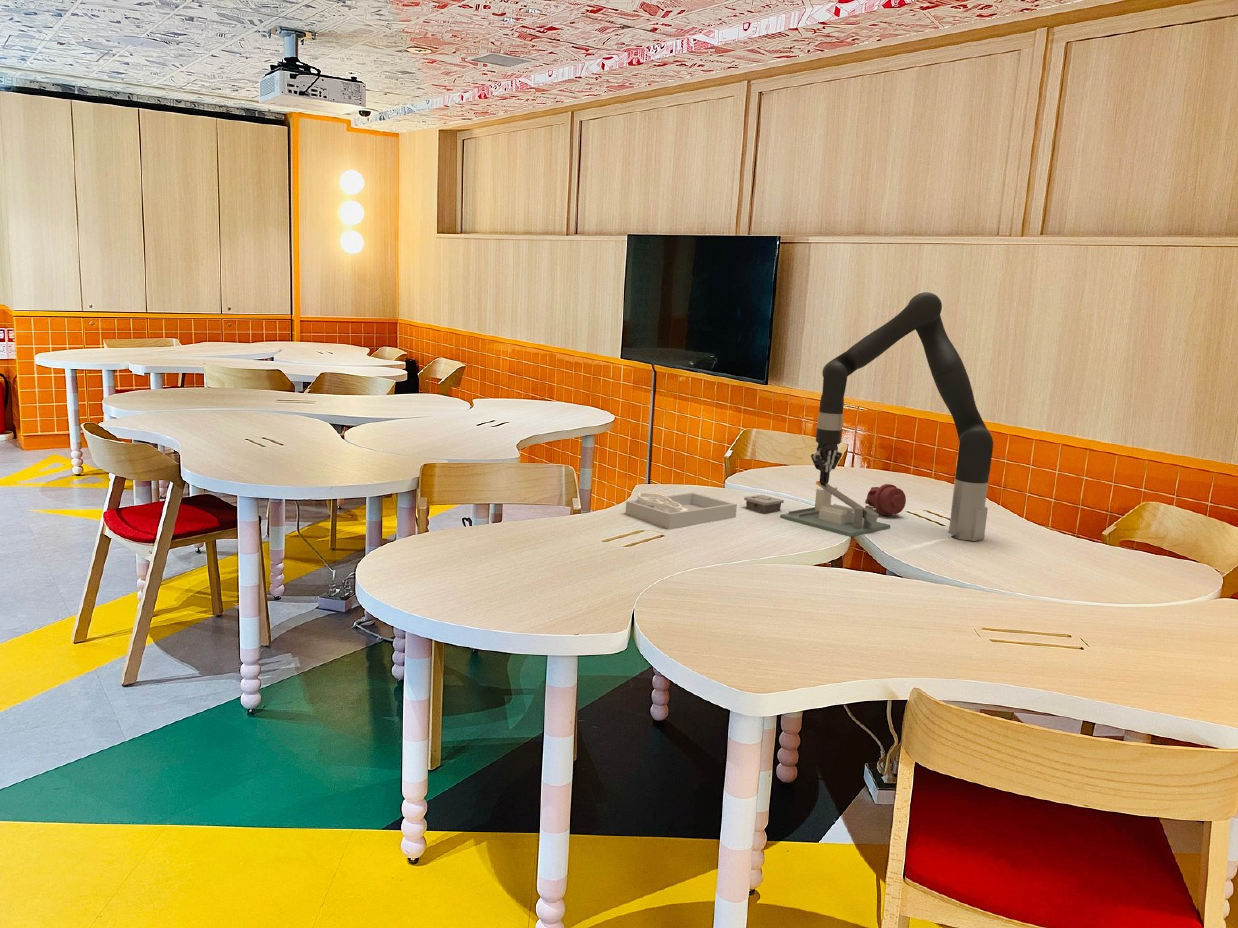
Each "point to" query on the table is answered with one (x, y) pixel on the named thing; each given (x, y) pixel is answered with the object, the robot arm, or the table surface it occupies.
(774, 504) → the electrical switch
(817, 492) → the cream block
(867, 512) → the lever
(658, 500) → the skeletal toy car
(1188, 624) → the table surface
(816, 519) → the board
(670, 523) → the tray
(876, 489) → the mechanical component
